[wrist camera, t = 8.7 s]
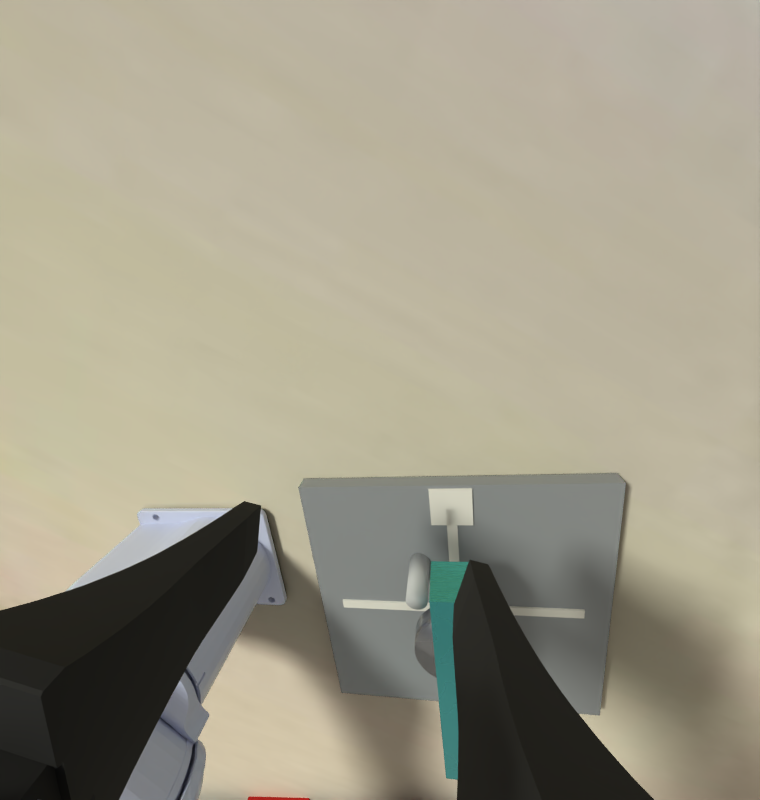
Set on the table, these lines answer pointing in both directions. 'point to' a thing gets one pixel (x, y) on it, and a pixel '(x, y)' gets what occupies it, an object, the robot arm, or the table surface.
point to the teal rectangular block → (442, 651)
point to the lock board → (460, 542)
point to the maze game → (275, 798)
